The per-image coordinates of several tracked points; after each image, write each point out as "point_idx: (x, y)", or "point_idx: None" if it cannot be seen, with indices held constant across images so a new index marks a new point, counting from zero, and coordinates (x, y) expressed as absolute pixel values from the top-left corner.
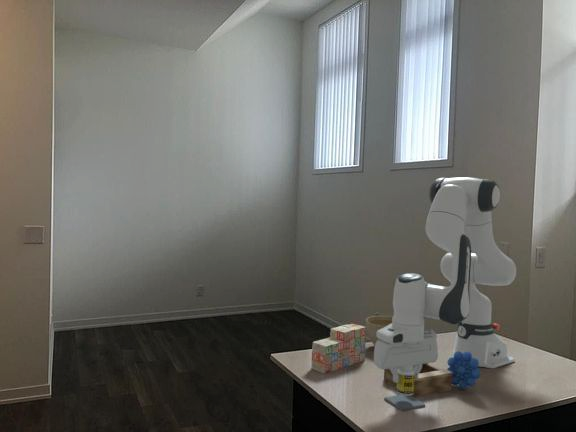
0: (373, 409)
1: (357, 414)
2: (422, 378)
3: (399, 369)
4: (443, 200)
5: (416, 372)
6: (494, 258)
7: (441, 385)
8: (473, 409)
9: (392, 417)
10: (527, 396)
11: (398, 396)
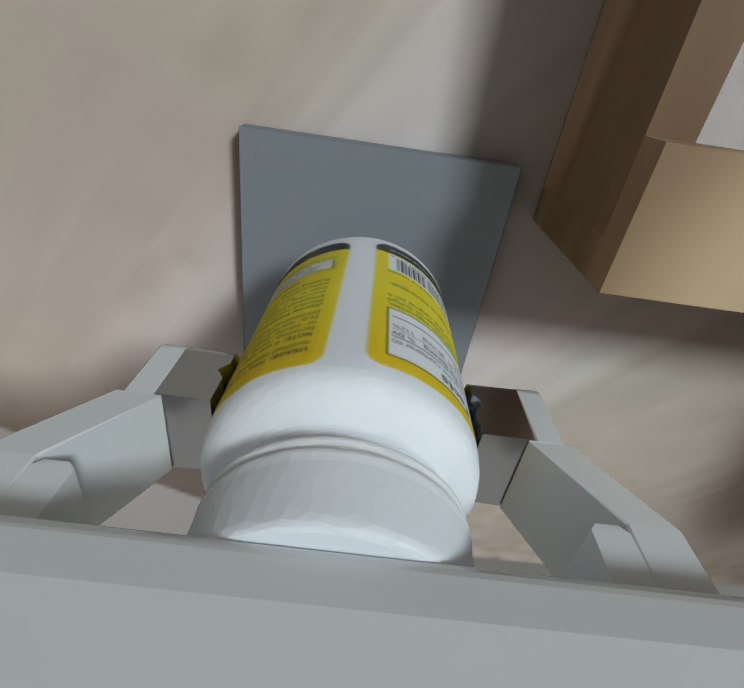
0: (45, 233)
1: None
2: (741, 308)
3: (236, 457)
4: None
5: (514, 504)
6: None
7: None
8: (663, 516)
9: (130, 381)
10: None
11: (387, 182)
